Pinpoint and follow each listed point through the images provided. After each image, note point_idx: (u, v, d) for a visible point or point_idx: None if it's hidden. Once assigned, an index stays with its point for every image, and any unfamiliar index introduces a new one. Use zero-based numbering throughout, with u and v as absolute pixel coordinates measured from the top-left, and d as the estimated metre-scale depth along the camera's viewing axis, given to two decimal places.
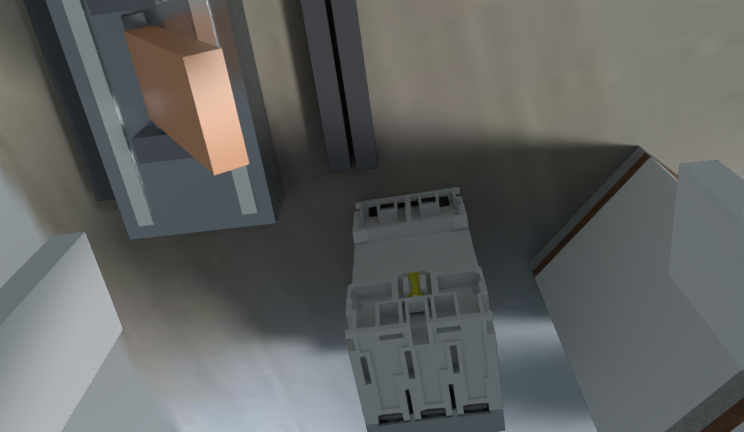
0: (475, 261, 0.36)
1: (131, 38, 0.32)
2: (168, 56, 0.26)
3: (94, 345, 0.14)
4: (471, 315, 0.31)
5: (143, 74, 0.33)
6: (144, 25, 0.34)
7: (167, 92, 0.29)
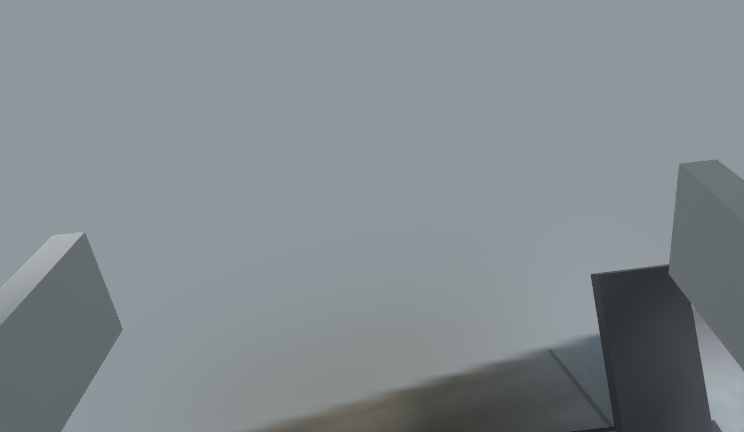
0: None
1: None
2: None
3: (94, 345, 0.14)
4: None
5: None
6: None
7: None
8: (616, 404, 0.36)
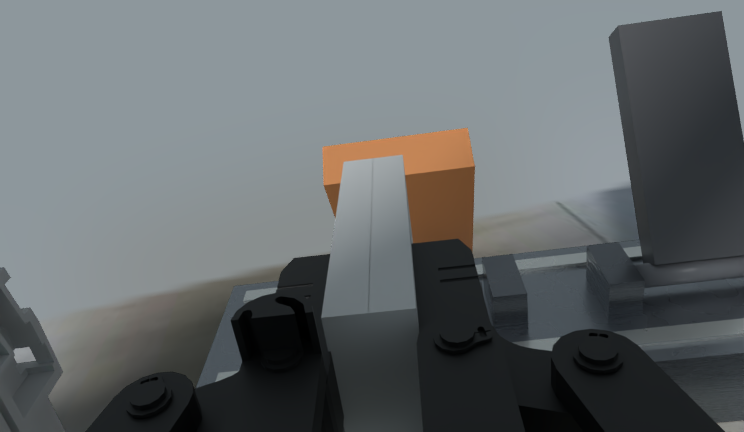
0: None
1: None
2: None
3: None
4: None
5: None
6: None
7: None
8: (638, 178, 0.31)
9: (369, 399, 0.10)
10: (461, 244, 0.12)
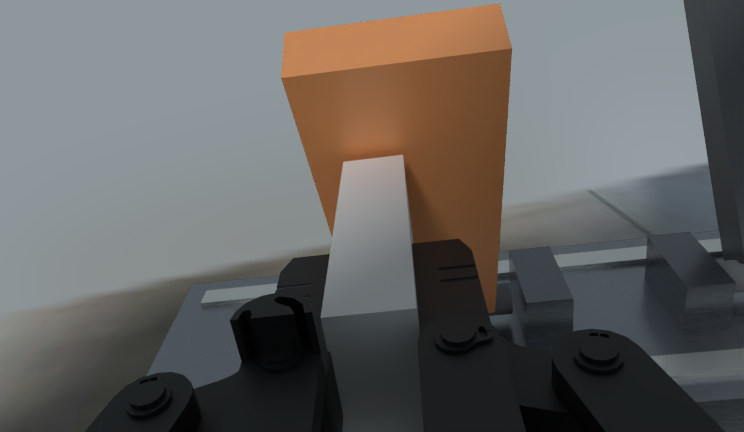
0: None
1: None
2: None
3: None
4: None
5: None
6: None
7: None
8: (720, 147, 0.23)
9: (369, 400, 0.10)
10: (461, 244, 0.12)
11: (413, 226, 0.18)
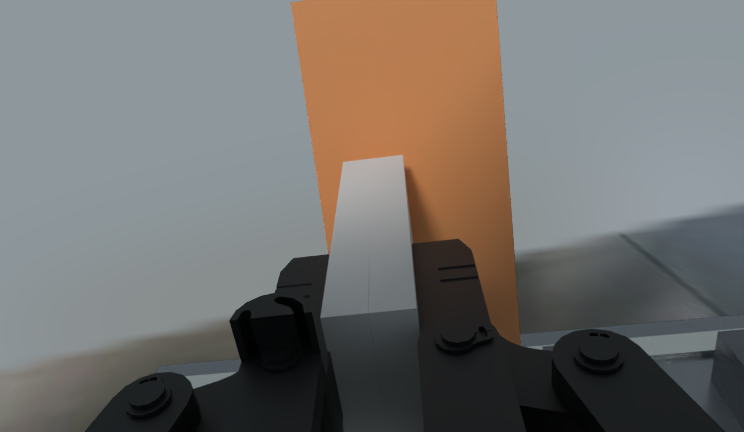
0: None
1: None
2: None
3: None
4: None
5: None
6: None
7: None
8: None
9: (369, 399, 0.10)
10: (461, 244, 0.12)
11: (415, 226, 0.17)
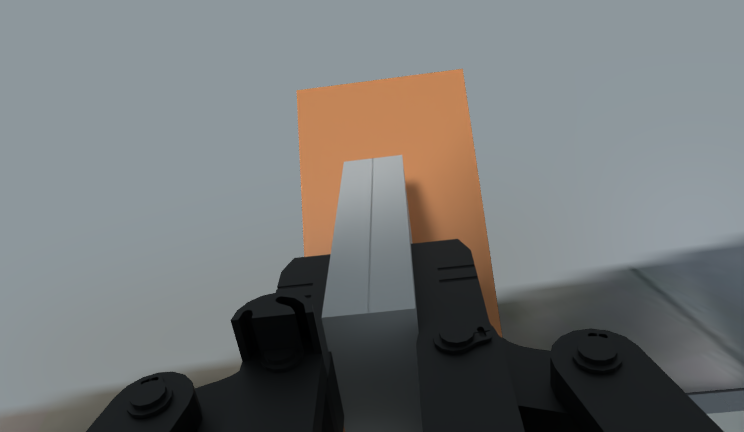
0: None
1: None
2: None
3: None
4: None
5: None
6: None
7: None
8: None
9: (369, 399, 0.10)
10: (460, 244, 0.12)
11: None
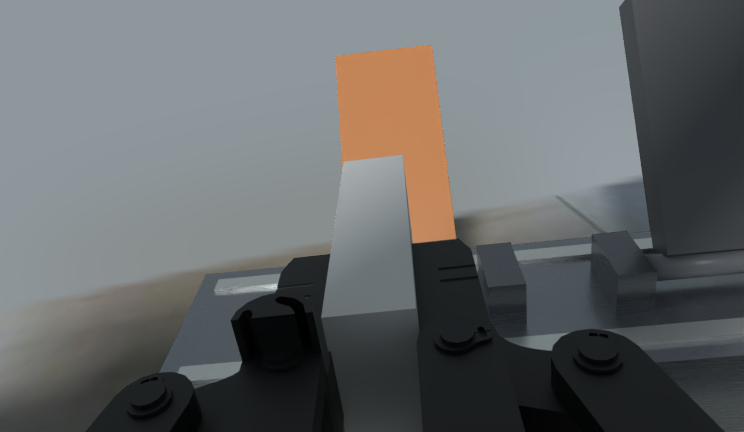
0: None
1: None
2: None
3: None
4: None
5: None
6: None
7: None
8: (650, 161, 0.28)
9: (369, 400, 0.10)
10: (460, 244, 0.12)
11: None
